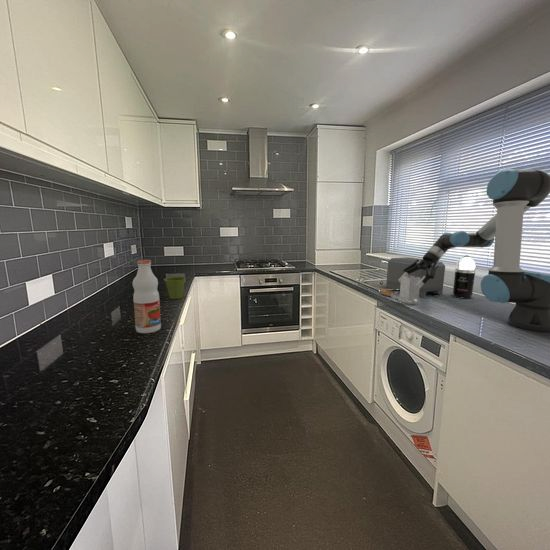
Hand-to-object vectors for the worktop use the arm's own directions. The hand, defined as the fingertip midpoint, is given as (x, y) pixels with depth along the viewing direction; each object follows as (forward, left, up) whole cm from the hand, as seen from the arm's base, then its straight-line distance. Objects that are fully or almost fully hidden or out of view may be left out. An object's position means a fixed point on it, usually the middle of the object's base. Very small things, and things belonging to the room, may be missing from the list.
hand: (408, 284), depth 160 cm
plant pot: (+40, +124, -11) cm, 130 cm away
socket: (0, -1, -8) cm, 8 cm away
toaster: (+26, -24, -11) cm, 37 cm away
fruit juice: (-11, +131, -11) cm, 132 cm away
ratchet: (+8, 0, -10) cm, 13 cm away
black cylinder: (+4, -42, -11) cm, 44 cm away
